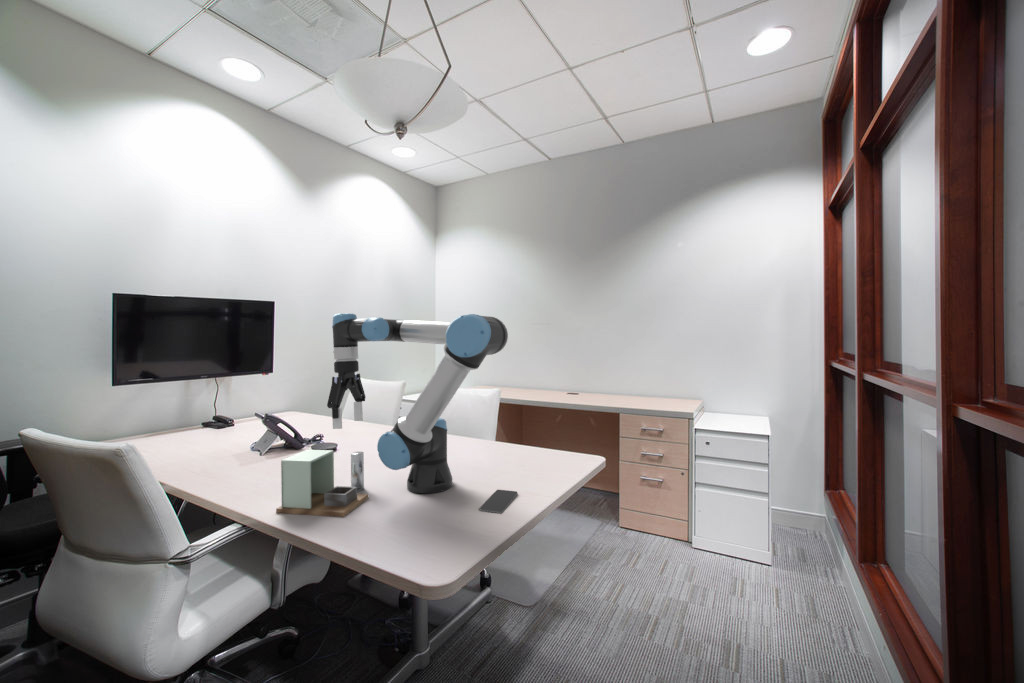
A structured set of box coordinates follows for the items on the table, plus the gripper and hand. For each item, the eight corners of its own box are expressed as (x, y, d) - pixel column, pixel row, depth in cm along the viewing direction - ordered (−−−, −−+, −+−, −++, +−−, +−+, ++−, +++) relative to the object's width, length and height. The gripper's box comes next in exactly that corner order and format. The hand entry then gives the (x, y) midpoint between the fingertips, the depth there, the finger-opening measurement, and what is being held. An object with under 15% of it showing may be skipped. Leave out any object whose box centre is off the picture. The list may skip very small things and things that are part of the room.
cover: (334, 493, 131) (333, 450, 131) (310, 508, 120) (309, 461, 120) (308, 492, 133) (307, 449, 133) (281, 507, 121) (281, 460, 121)
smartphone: (477, 509, 120) (496, 489, 135) (477, 512, 120) (496, 492, 135) (501, 512, 118) (518, 491, 133) (501, 515, 118) (518, 494, 133)
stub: (366, 487, 140) (365, 451, 140) (360, 491, 137) (359, 454, 136) (355, 486, 141) (354, 451, 141) (348, 491, 137) (348, 454, 137)
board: (368, 498, 131) (368, 483, 131) (343, 516, 117) (343, 500, 117) (307, 494, 134) (307, 480, 134) (276, 512, 120) (276, 496, 120)
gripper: (354, 359, 151) (356, 418, 151) (313, 362, 126) (315, 432, 126) (374, 358, 150) (376, 417, 150) (336, 361, 125) (339, 432, 125)
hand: (348, 424), depth 138 cm, fingers open, 13 cm apart
